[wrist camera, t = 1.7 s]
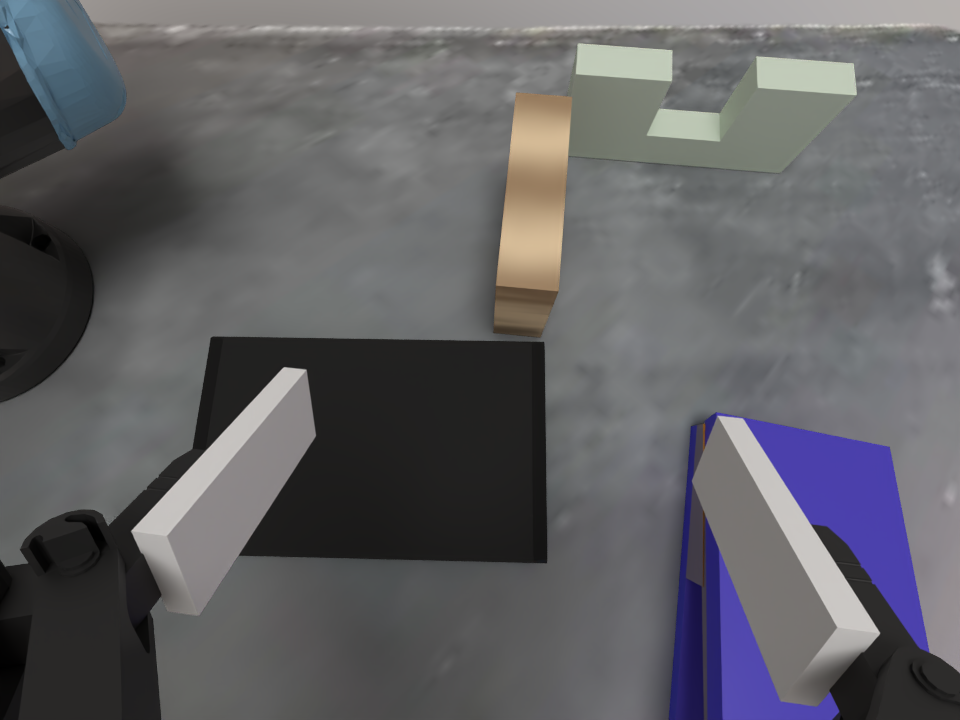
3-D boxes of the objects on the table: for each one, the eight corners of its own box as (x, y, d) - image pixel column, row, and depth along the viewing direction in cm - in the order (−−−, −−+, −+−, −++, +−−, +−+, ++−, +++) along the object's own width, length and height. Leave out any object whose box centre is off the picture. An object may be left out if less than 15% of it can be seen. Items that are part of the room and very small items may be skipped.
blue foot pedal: (642, 892, 27) (727, 1120, 17) (680, 416, 33) (758, 394, 24) (845, 940, 26) (1050, 1205, 17) (844, 445, 33) (991, 434, 23)
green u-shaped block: (557, 155, 38) (575, 74, 31) (559, 129, 39) (577, 43, 31) (780, 173, 38) (856, 95, 30) (778, 146, 38) (853, 63, 30)
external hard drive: (234, 346, 35) (211, 335, 32) (540, 352, 35) (545, 340, 32) (203, 547, 32) (175, 554, 29) (542, 555, 31) (548, 563, 28)
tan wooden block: (540, 337, 35) (558, 291, 26) (493, 332, 35) (495, 285, 26) (552, 184, 38) (572, 96, 29) (509, 180, 38) (516, 92, 29)
